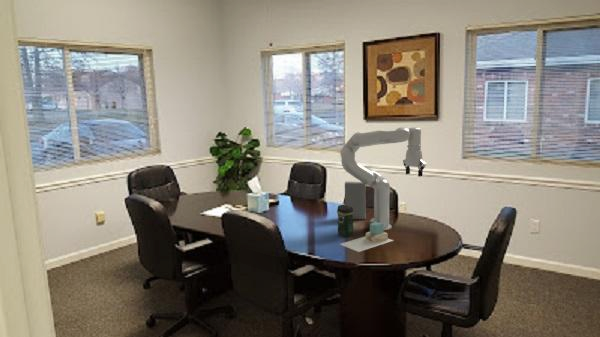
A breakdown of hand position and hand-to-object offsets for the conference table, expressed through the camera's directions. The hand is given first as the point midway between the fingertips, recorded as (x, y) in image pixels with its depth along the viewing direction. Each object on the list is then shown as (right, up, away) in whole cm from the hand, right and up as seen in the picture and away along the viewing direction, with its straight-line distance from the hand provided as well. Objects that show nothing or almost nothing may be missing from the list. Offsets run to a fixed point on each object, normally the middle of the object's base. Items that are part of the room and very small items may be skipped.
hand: (413, 175), depth 281 cm
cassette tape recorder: (-33, -30, +28) cm, 53 cm away
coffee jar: (-43, -37, -6) cm, 57 cm away
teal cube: (-26, -33, -17) cm, 46 cm away
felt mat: (-32, -39, -20) cm, 54 cm away
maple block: (-26, -37, -17) cm, 48 cm away
